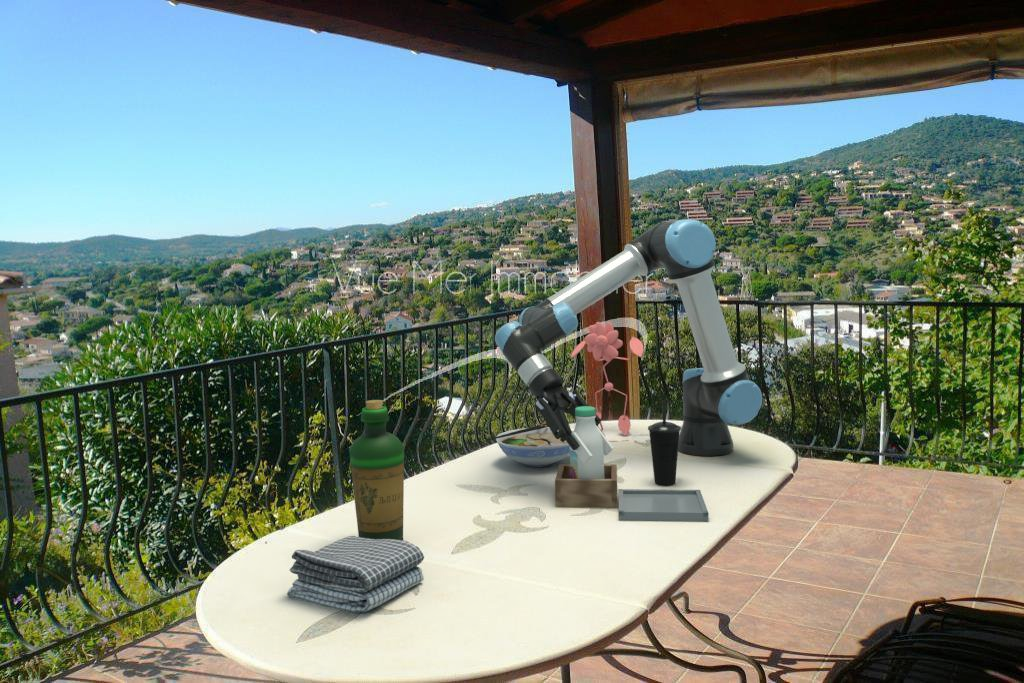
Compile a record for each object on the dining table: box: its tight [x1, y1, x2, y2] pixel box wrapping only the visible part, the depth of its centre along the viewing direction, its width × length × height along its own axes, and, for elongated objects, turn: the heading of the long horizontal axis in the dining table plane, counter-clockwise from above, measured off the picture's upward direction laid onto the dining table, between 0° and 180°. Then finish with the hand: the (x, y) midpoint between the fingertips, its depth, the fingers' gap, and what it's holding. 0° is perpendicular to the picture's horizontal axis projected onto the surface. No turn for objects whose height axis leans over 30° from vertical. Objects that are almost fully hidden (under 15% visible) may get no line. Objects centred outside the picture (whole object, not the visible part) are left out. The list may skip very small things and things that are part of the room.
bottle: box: [348, 399, 405, 541], centre depth 151 cm, size 11×11×28 cm
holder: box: [554, 463, 618, 509], centre depth 176 cm, size 13×13×6 cm
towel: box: [286, 535, 425, 614], centre depth 131 cm, size 15×18×8 cm
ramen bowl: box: [485, 422, 574, 468], centre depth 208 cm, size 25×23×8 cm
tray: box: [618, 488, 709, 522], centre depth 168 cm, size 18×16×2 cm
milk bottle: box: [569, 405, 605, 479], centre depth 176 cm, size 8×8×20 cm
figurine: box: [570, 321, 645, 443], centre depth 236 cm, size 15×26×35 cm, turn 53°
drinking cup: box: [647, 399, 682, 487], centre depth 185 cm, size 8×8×20 cm
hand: (599, 455), depth 173 cm, fingers closed on milk bottle, 7 cm apart
